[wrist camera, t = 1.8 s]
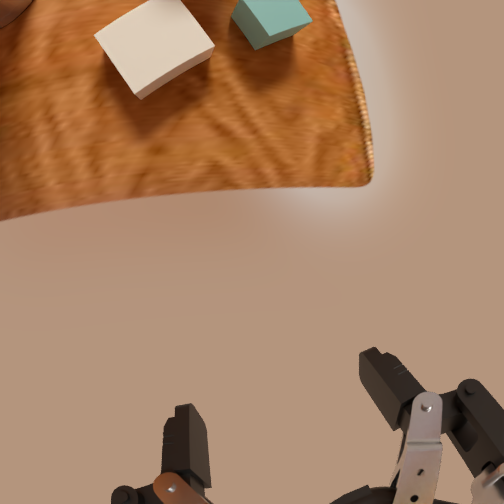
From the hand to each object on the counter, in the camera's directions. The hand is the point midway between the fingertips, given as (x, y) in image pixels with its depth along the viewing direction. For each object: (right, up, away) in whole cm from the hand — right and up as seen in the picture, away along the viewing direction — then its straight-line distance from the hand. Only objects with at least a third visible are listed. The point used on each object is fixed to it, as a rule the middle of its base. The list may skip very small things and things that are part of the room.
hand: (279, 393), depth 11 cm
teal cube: (0, +30, +10) cm, 32 cm away
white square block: (-11, +26, +9) cm, 30 cm away
